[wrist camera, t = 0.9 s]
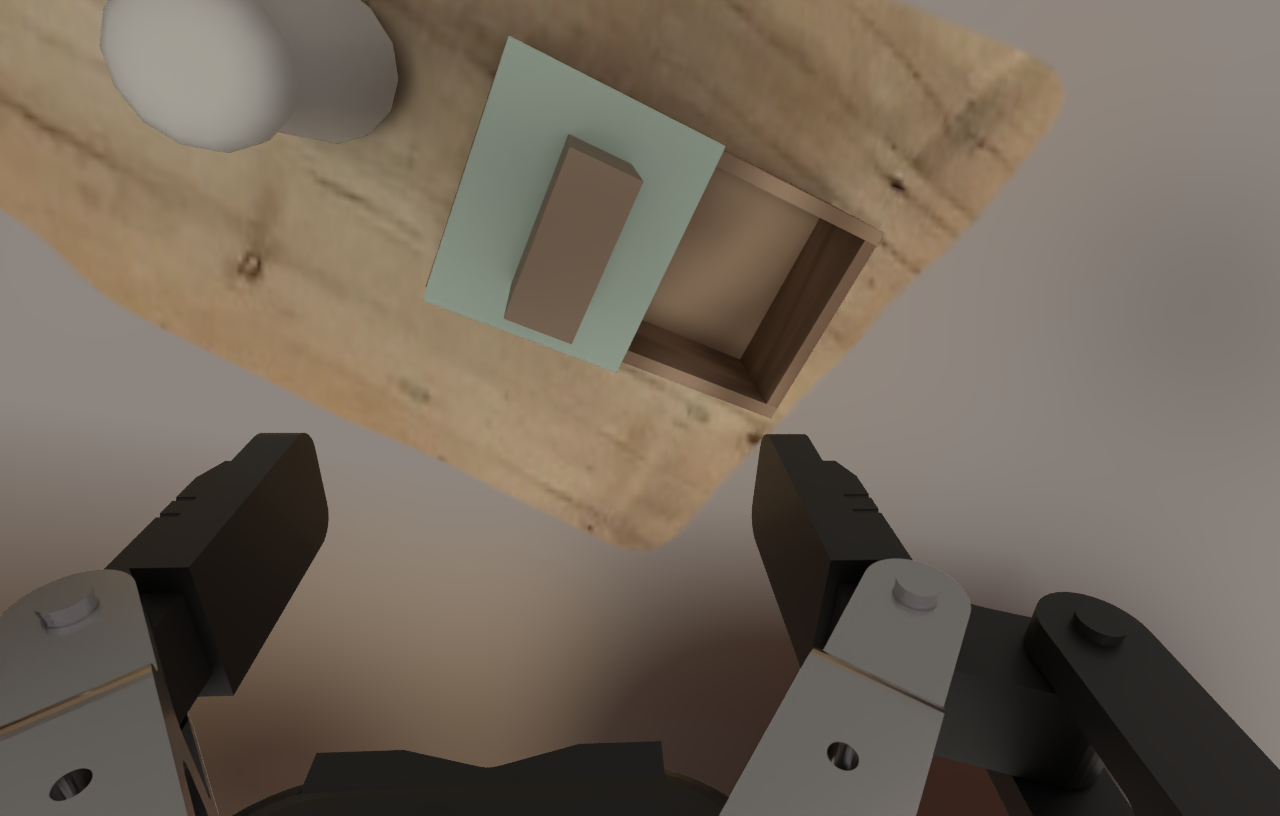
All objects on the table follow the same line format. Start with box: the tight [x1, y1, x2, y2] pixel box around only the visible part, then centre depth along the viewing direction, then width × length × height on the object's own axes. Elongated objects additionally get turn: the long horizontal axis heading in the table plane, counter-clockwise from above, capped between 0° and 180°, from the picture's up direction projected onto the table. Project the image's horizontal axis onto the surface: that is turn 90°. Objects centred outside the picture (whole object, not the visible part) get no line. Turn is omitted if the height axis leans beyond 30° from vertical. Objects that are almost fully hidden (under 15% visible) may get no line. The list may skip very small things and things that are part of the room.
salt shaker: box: [100, 0, 399, 153], centre depth 22 cm, size 6×6×13 cm
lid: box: [422, 36, 726, 373], centre depth 24 cm, size 8×10×5 cm
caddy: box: [426, 41, 884, 418], centre depth 29 cm, size 17×10×6 cm, turn 65°
